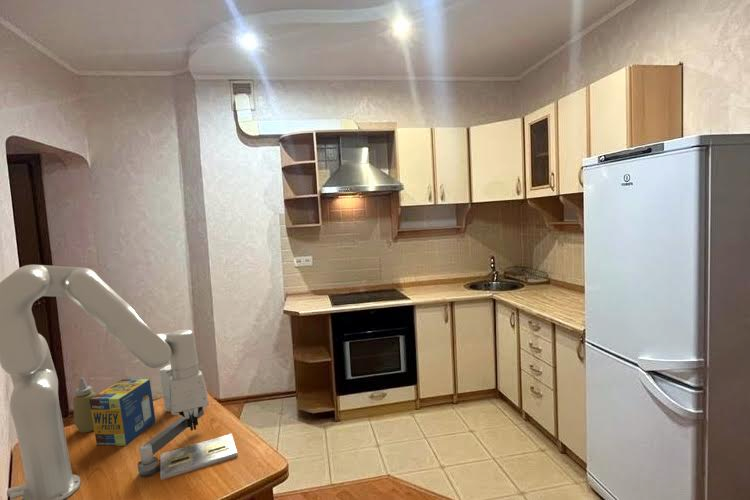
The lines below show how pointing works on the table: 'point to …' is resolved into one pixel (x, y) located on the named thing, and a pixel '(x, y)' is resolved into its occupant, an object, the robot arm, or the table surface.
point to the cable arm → (164, 438)
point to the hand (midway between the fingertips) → (193, 428)
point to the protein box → (122, 412)
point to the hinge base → (148, 468)
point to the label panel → (197, 456)
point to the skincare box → (166, 387)
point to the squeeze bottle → (83, 407)
